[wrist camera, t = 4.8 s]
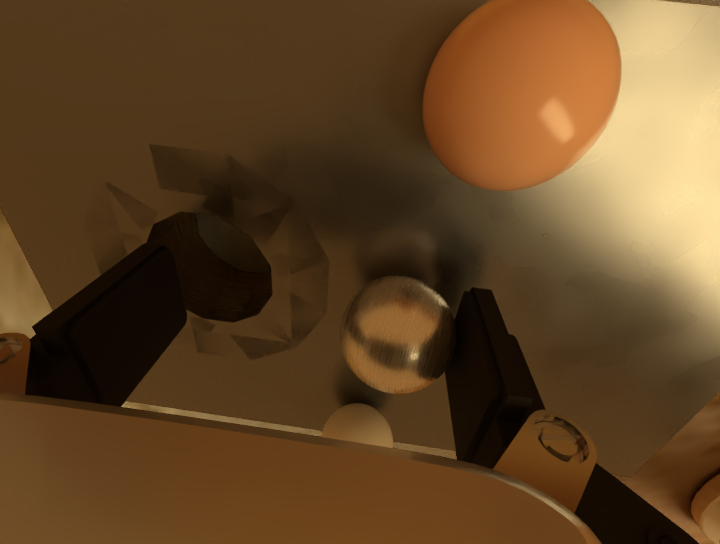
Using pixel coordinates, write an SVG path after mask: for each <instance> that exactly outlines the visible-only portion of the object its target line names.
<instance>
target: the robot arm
mask: <svg viewBox="0 0 720 544" xmlns="http://www.w3.org/2000/svg"><path fill="white" fill-rule="evenodd" d="M186 322H187V312H186V307H185V303H184V299H183V295H182V290H181V286H180V282H179V277H178V273H177V269H176V265H175V260H174V256H173V253H172V252H171V251H169V250H168V248H167V247H166V246H164V245H158V244H150V243H144V244H142V245H141V246H140V247H138V248H137V249H135V250H134V251H133V252H131V253H130V254H129V255H127V256H126V257H125V258H123V259H122V260H121V261H119V262H118V263H117V264H115V265H114V266H113V267H111V268H110V269H109V270H107V271H106V272H105V273H103V274H102V275H101V276H99V277H98V278H97V279H95V280H94V281H93V282H91V283H90V284H89V285H87V286H86V287H85V288H83V289H82V290H81V291H79V292H78V293H76V294H75V295H74V296H72V297H71V298H70V299H68V300H67V301H66V302H64V303H63V304H62V305H60V306H59V307H58V308H56V309H55V310H54V311H52V312H51V313H50V314H48V315H47V316H46V317H44V318H43V319H42V320H40V321H39V322H38V323H36V324H35V325H34V326H32V328H33V329H34V331H35V333H36V335H35V336H34V337H32V338H31V339H30V338H28V337H27V336H26V335H24V334H20V333H3V334H0V544H699V543H698V542H697V541H696V540H694V539H693V538H692V537H691V536H690V535H689V534H688V533H686V532H685V531H684V530H682V529H681V528H680V527H679V526H677V525H676V524H675V523H673V522H672V521H671V520H670V519H668V518H667V517H666V516H664V515H663V514H662V513H660V512H659V511H658V510H657V509H655V508H654V507H653V506H651V505H650V504H649V503H648V502H646V501H645V500H644V499H642V498H641V497H640V496H639V495H637V494H636V493H635V492H633V491H632V490H631V489H629V488H628V487H627V486H626V485H624V484H623V483H622V482H620V481H619V480H618V479H617V478H615V477H614V476H613V475H611V474H610V473H609V472H608V471H606V470H605V469H604V468H602V467H601V466H600V465H598V464H597V463H596V459H597V452H596V448H595V445H594V443H593V441H592V439H591V438H590V436H589V435H588V434H587V432H586V431H585V430H584V429H583V428H582V427H581V426H580V425H579V424H578V423H576V422H575V421H574V420H572V419H571V418H569V417H567V416H565V415H564V414H562V413H559V412H556V411H553V410H546V409H545V406H544V404H543V402H542V399H541V397H540V394H539V392H538V389H537V387H536V384H535V382H534V380H533V377H532V375H531V372H530V370H529V367H528V365H527V362H526V360H525V357H524V355H523V353H522V350H521V348H520V345H519V343H518V340H517V339H516V337H515V336H514V335H512V334H509V333H508V331H507V328H506V326H505V323H504V320H503V318H502V315H501V313H500V310H499V307H498V305H497V302H496V300H495V297H494V294H493V292H492V290H490V289H483V288H476V287H472V288H471V289H470V291H464V293H463V295H462V298H461V302H460V305H459V308H458V311H457V314H456V317H455V325H456V336H457V338H456V347H455V351H454V354H453V357H452V360H451V362H450V364H449V366H448V367H447V369H446V370H445V378H446V385H447V392H448V399H449V406H450V413H451V421H452V428H453V435H454V442H455V449H456V456H457V460H455V459H450V458H446V457H441V456H435V455H429V454H424V453H418V452H412V451H406V450H400V449H395V448H389V447H383V446H377V445H370V444H364V443H357V442H351V441H345V440H338V439H332V438H325V437H319V436H312V435H306V434H300V433H293V432H287V431H280V430H273V429H267V428H260V427H253V426H247V425H240V424H234V423H227V422H220V421H213V420H207V419H200V418H193V417H187V416H180V415H173V414H166V413H159V412H152V411H145V410H138V409H131V408H124V407H121V406H122V405H123V403H124V402H125V401H126V400H127V398H128V397H129V396H130V394H131V393H132V392H133V391H134V389H135V388H136V387H137V386H138V384H139V383H140V382H141V380H142V379H143V378H144V377H145V375H146V374H147V373H148V372H149V370H150V369H151V368H152V366H153V365H154V364H155V363H156V361H157V360H158V359H159V358H160V356H161V355H162V354H163V353H164V351H165V350H166V349H167V347H168V346H169V345H170V344H171V342H172V341H173V340H174V339H175V337H176V336H177V335H178V333H179V332H180V331H181V330H182V328H183V327H184V326H185V324H186ZM691 514H692V516H693V518H694V520H695V522H696V523H697V525H698V527H699V528H700V530H701V531H702V532H703V534H704V535H705V536H706V538H708V539H709V540H710V541H712V542H713V543H715V544H720V473H719V474H718V475H717V476H715V477H714V478H712V479H711V480H709V481H708V482H707V483H705V484H704V486H703V487H702V488H701V489H700V490H699V491H698V492H697V493H696V495H695V497H694V499H693V501H692V503H691Z"/></svg>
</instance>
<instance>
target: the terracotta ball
mask: <svg viewBox="0 0 720 544" xmlns="http://www.w3.org/2000/svg"><path fill="white" fill-rule="evenodd" d="M621 78H622V60H621V53H620V48H619V44H618V41H617V38H616V35H615V33H614V31H613V29H612V27H611V25H610V24H609V22H608V21H607V20H606V18H605V17H604V16H603V14H602V13H601V12H600V11H599V10H598V9H597V8H596V7H595V6H594V5H593V4H592V3H590V2H589V1H587V0H490V1H488V2H487V3H485V4H483V5H482V6H480V7H479V8H477V9H476V10H475V11H473V12H472V13H471V14H470V15H468V16H467V17H466V18H465V19H464V20H463V21H462V22H461V23H460V24H459V25H458V26H457V27H456V28H455V29H454V30H453V31H452V33H451V34H450V35H449V36H448V38H447V39H446V40H445V42H444V43H443V45H442V46H441V48H440V50H439V51H438V53H437V55H436V57H435V59H434V61H433V63H432V65H431V68H430V71H429V74H428V76H427V80H426V84H425V89H424V96H423V122H424V129H425V132H426V136H427V139H428V142H429V144H430V147H431V149H432V150H433V152H434V154H435V155H436V157H437V159H438V160H439V161H440V162H441V164H442V165H443V166H444V167H445V168H446V169H447V170H448V171H449V172H450V173H451V174H452V175H454V176H455V177H457V178H458V179H460V180H462V181H464V182H466V183H468V184H470V185H472V186H475V187H478V188H481V189H486V190H491V191H516V190H521V189H527V188H530V187H533V186H537V185H539V184H542V183H544V182H546V181H549V180H551V179H553V178H554V177H556V176H558V175H560V174H562V173H563V172H565V171H566V170H567V169H569V168H570V167H572V166H573V165H574V164H575V163H577V162H578V161H579V160H580V159H581V158H582V157H583V156H584V155H585V154H586V153H587V152H588V151H589V150H590V149H591V148H592V146H593V145H594V144H595V143H596V142H597V140H598V139H599V137H600V136H601V134H602V133H603V131H604V130H605V128H606V126H607V124H608V122H609V121H610V119H611V117H612V114H613V112H614V109H615V106H616V104H617V100H618V96H619V92H620V86H621Z"/></svg>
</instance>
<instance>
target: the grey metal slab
mask: <svg viewBox="0 0 720 544" xmlns="http://www.w3.org/2000/svg"><path fill="white" fill-rule="evenodd" d="M488 1H490V0H0V208H1V210H2V212H3V214H4V216H5V218H6V220H7V222H8V224H9V225H10V227H11V229H12V231H13V233H14V235H15V237H16V239H17V241H18V243H19V245H20V247H21V249H22V251H23V253H24V255H25V257H26V259H27V261H28V263H29V265H30V267H31V268H32V270H33V272H34V274H35V276H36V278H37V280H38V282H39V284H40V286H41V288H42V290H43V292H44V294H45V296H46V298H47V300H48V302H49V304H50V306H51V308H52V310H53V311H54V310H55V309H56V308H58V307H59V306H60V305H62V304H63V303H64V302H66V301H67V300H68V299H70V298H71V297H72V296H74V295H75V294H76V293H78V292H79V291H81V290H82V289H83V288H85V287H86V286H87V285H89V284H90V283H91V282H93V281H94V280H95V279H97V278H98V277H99V276H101V275H102V274H103V273H105V272H106V271H107V270H109V269H110V268H111V267H113V266H114V265H115V264H117V263H118V262H119V261H121V260H122V259H123V258H125V257H126V256H127V255H129V254H130V253H131V252H133V251H134V250H135V249H137V248H138V247H140V246H141V245H142V244H144V243H150V244H158V245H164V246H166V247H167V248H168V250H169V251H171V252H172V253H173V256H174V260H175V265H176V269H177V273H178V277H179V282H180V286H181V290H182V295H183V299H184V303H185V307H186V312H187V322H186V324H185V326H184V327H183V328H182V330H181V331H180V332H179V333H178V335H177V336H176V337H175V339H174V340H173V341H172V342H171V344H170V345H169V346H168V347H167V349H166V350H165V351H164V353H163V354H162V355H161V356H160V358H159V359H158V360H157V361H156V363H155V364H154V365H153V366H152V368H151V369H150V370H149V372H148V373H147V374H146V375H145V377H144V378H143V379H142V380H141V382H140V383H139V384H138V386H137V387H136V388H135V389H134V391H133V392H132V393H131V394H130V396H129V397H128V398H127V400H126V401H129V402H136V403H143V404H149V405H156V406H162V407H169V408H176V409H182V410H189V411H196V412H202V413H209V414H215V415H222V416H229V417H235V418H242V419H249V420H255V421H262V422H268V423H275V424H282V425H288V426H295V427H301V428H308V429H315V430H321V431H322V430H323V428H324V425H325V423H326V422H327V420H328V418H329V417H330V416H331V415H332V414H333V413H334V412H335V411H336V410H338V409H339V408H341V407H343V406H345V405H348V404H353V403H361V404H366V405H369V406H371V407H373V408H375V409H376V410H378V411H379V412H380V413H381V414H382V415H383V416H384V418H385V419H386V420H387V422H388V424H389V426H390V429H391V432H392V436H393V441H394V442H401V443H407V444H414V445H421V446H427V447H434V448H441V449H447V450H454V451H456V449H455V442H454V435H453V428H452V421H451V413H450V406H449V399H448V392H447V385H446V378H445V371H444V373H443V374H442V375H441V376H440V377H439V378H438V379H437V380H436V381H435V382H433V383H432V384H431V385H429V386H427V387H425V388H424V389H421V390H419V391H416V392H411V393H405V394H392V393H386V392H382V391H379V390H376V389H374V388H372V387H370V386H369V385H367V384H366V383H364V382H363V381H362V380H360V379H359V378H358V377H357V376H356V375H355V374H354V372H353V371H352V370H351V369H350V367H349V366H348V364H347V362H346V360H345V358H344V356H343V353H342V350H341V346H340V340H339V327H340V322H341V317H342V314H343V312H344V309H345V307H346V305H347V303H348V302H349V300H350V299H351V298H352V296H353V295H354V294H355V293H356V292H357V291H358V290H359V289H360V288H362V287H363V286H365V285H366V284H368V283H369V282H371V281H373V280H376V279H379V278H382V277H387V276H397V275H398V276H407V277H412V278H415V279H418V280H420V281H422V282H424V283H426V284H428V285H429V286H431V287H432V288H434V289H435V290H436V291H437V292H438V293H439V294H440V295H441V296H442V297H443V299H444V300H445V301H446V303H447V304H448V306H449V308H450V310H451V312H452V314H453V317H454V320H455V317H456V314H457V311H458V308H459V305H460V302H461V298H462V295H463V293H464V291H470V289H471V288H472V287H476V288H483V289H490V290H492V292H493V294H494V297H495V300H496V302H497V305H498V307H499V310H500V313H501V315H502V318H503V320H504V323H505V326H506V328H507V331H508V333H509V334H512V335H514V336H515V337H516V339H517V340H518V343H519V345H520V348H521V350H522V353H523V355H524V357H525V360H526V362H527V365H528V367H529V370H530V372H531V375H532V377H533V380H534V382H535V384H536V387H537V389H538V392H539V394H540V397H541V399H542V402H543V404H544V406H545V409H546V410H553V411H556V412H559V413H562V414H564V415H565V416H567V417H569V418H571V419H572V420H574V421H575V422H576V423H578V424H579V425H580V426H581V427H582V428H583V429H584V430H585V431H586V432H587V434H588V435H589V436H590V438H591V439H592V441H593V443H594V445H595V448H596V452H597V459H596V463H597V464H598V465H600V466H601V467H602V468H604V469H605V470H606V471H608V472H609V473H610V474H613V475H619V476H626V477H632V476H633V475H634V474H635V473H636V472H637V471H638V470H639V469H640V468H641V467H642V466H643V465H644V464H645V463H646V462H647V461H648V460H649V459H650V458H651V457H652V456H653V455H654V454H655V453H656V452H658V451H659V450H660V449H661V448H662V447H663V446H664V445H665V444H666V443H667V442H668V441H669V440H670V439H671V438H672V437H673V436H674V435H675V434H676V433H677V432H678V431H679V430H680V429H681V428H682V427H683V426H684V425H685V424H686V423H687V422H688V421H689V420H690V419H691V418H693V417H694V416H695V415H696V414H697V413H698V412H699V411H700V410H701V409H702V408H703V407H704V406H705V405H706V404H707V403H708V402H709V401H710V400H711V399H712V398H713V397H714V396H715V395H716V394H717V393H718V392H719V391H720V7H718V6H708V5H698V4H689V3H679V2H669V1H659V0H587V1H589V2H590V3H592V4H593V5H594V6H595V7H596V8H597V9H598V10H599V11H600V12H601V13H602V14H603V16H604V17H605V18H606V20H607V21H608V22H609V24H610V25H611V27H612V29H613V31H614V33H615V35H616V38H617V41H618V44H619V48H620V53H621V60H622V78H621V86H620V92H619V96H618V100H617V104H616V106H615V109H614V112H613V114H612V117H611V119H610V121H609V122H608V124H607V126H606V128H605V130H604V131H603V133H602V134H601V136H600V137H599V139H598V140H597V142H596V143H595V144H594V145H593V146H592V148H591V149H590V150H589V151H588V152H587V153H586V154H585V155H584V156H583V157H582V158H581V159H580V160H579V161H578V162H577V163H575V164H574V165H573V166H572V167H570V168H569V169H567V170H566V171H565V172H563V173H562V174H560V175H558V176H556V177H554V178H553V179H551V180H549V181H546V182H544V183H542V184H539V185H537V186H533V187H530V188H527V189H521V190H516V191H491V190H486V189H481V188H478V187H475V186H472V185H470V184H468V183H466V182H464V181H462V180H460V179H458V178H457V177H455V176H454V175H452V174H451V173H450V172H449V171H448V170H447V169H446V168H445V167H444V166H443V165H442V164H441V162H440V161H439V160H438V159H437V157H436V155H435V154H434V152H433V150H432V149H431V147H430V144H429V142H428V139H427V136H426V132H425V129H424V122H423V96H424V89H425V84H426V80H427V76H428V74H429V71H430V68H431V65H432V63H433V61H434V59H435V57H436V55H437V53H438V51H439V50H440V48H441V46H442V45H443V43H444V42H445V40H446V39H447V38H448V36H449V35H450V34H451V33H452V31H453V30H454V29H455V28H456V27H457V26H458V25H459V24H460V23H461V22H462V21H463V20H464V19H465V18H466V17H467V16H468V15H470V14H471V13H472V12H473V11H475V10H476V9H477V8H479V7H480V6H482V5H483V4H485V3H487V2H488ZM195 213H198V214H206V215H214V216H218V217H220V218H222V219H223V220H225V221H226V222H228V223H230V224H231V225H233V226H234V227H236V228H238V229H239V230H241V231H242V232H244V233H246V234H247V235H249V236H250V237H252V239H253V240H254V242H255V243H256V245H257V246H258V248H259V249H260V251H261V252H262V254H263V255H264V257H265V258H266V260H267V261H268V263H269V264H270V266H271V272H268V273H265V274H259V273H251V272H244V271H238V270H236V269H235V268H233V267H231V266H230V265H228V264H226V263H225V262H223V261H221V260H220V259H218V258H216V257H215V256H214V254H213V253H212V252H211V250H210V249H209V248H208V246H207V245H206V244H205V242H204V241H203V240H202V238H201V237H200V236H199V231H198V226H197V220H196V215H195Z"/></svg>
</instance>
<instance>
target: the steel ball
mask: <svg viewBox="0 0 720 544" xmlns="http://www.w3.org/2000/svg"><path fill="white" fill-rule="evenodd" d="M456 338H457V336H456V325H455V320H454V317H453V314H452V312H451V310H450V308H449V306H448V304H447V303H446V301H445V300H444V299H443V297H442V296H441V295H440V294H439V293H438V292H437V291H436V290H435V289H434V288H432V287H431V286H429V285H428V284H426V283H424V282H422V281H420V280H418V279H415V278H412V277H407V276H398V275H397V276H387V277H382V278H379V279H376V280H373V281H371V282H369V283H368V284H366V285H365V286H363V287H362V288H360V289H359V290H358V291H357V292H356V293H355V294H354V295H353V296H352V298H351V299H350V300H349V302H348V303H347V305H346V307H345V309H344V312H343V314H342V317H341V322H340V327H339V340H340V346H341V350H342V353H343V356H344V358H345V360H346V362H347V364H348V366H349V367H350V369H351V370H352V371H353V372H354V374H355V375H356V376H357V377H358V378H359V379H360V380H362V381H363V382H364V383H366V384H367V385H369V386H370V387H372V388H374V389H376V390H379V391H382V392H386V393H392V394H405V393H411V392H416V391H419V390H421V389H424V388H425V387H427V386H429V385H431V384H432V383H433V382H435V381H436V380H437V379H438V378H439V377H440V376H441V375H442V374H443V373H444V371H445V370H446V369H447V367H448V366H449V364H450V362H451V360H452V357H453V354H454V351H455V347H456Z"/></svg>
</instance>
